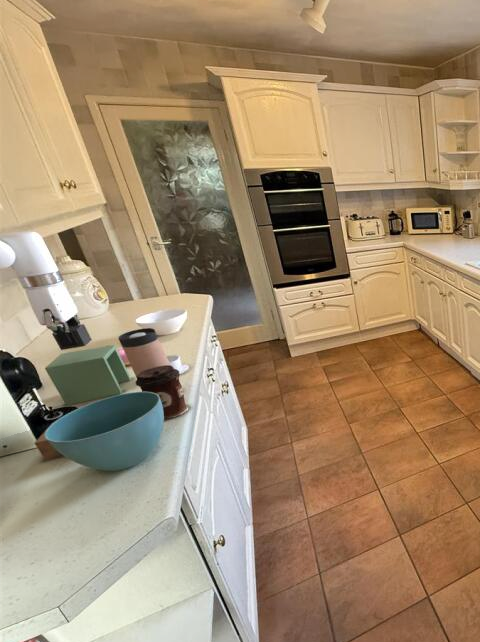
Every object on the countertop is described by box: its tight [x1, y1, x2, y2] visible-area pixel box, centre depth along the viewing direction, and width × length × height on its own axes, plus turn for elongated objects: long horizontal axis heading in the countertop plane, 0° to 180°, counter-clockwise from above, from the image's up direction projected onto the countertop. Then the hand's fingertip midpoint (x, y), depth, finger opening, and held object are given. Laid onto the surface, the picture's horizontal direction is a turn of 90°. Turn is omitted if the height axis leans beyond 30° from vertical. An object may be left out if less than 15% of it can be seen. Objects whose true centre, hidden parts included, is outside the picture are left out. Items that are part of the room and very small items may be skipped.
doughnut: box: [117, 348, 131, 366], centre depth 136 cm, size 11×11×4 cm
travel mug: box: [118, 328, 170, 379], centre depth 110 cm, size 8×8×20 cm
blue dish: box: [44, 391, 165, 472], centre depth 87 cm, size 18×18×12 cm
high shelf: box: [44, 344, 132, 406], centre depth 115 cm, size 12×10×12 cm
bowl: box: [135, 308, 188, 336], centre depth 158 cm, size 16×16×7 cm
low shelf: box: [34, 421, 65, 461], centre depth 95 cm, size 12×9×5 cm
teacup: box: [166, 354, 190, 375], centre depth 126 cm, size 10×10×5 cm
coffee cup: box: [135, 365, 189, 420], centre depth 104 cm, size 9×8×13 cm
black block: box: [51, 323, 92, 351], centre depth 111 cm, size 5×5×5 cm
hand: (74, 341), depth 111 cm, fingers closed on black block, 5 cm apart
